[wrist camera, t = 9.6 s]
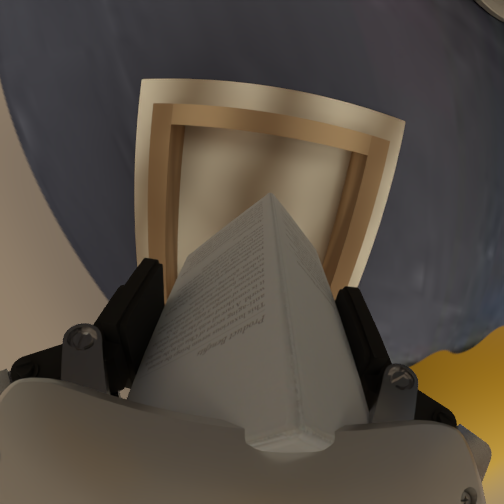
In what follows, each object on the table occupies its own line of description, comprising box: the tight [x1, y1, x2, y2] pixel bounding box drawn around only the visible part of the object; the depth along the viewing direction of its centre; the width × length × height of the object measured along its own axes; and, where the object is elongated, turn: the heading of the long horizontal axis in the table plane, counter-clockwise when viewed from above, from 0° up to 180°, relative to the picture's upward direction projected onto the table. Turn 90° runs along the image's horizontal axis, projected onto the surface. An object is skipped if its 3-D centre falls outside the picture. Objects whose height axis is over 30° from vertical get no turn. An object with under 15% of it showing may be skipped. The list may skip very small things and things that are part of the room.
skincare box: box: [127, 193, 369, 453], centre depth 10 cm, size 6×4×12 cm
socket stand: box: [135, 79, 405, 304], centre depth 19 cm, size 18×18×4 cm
